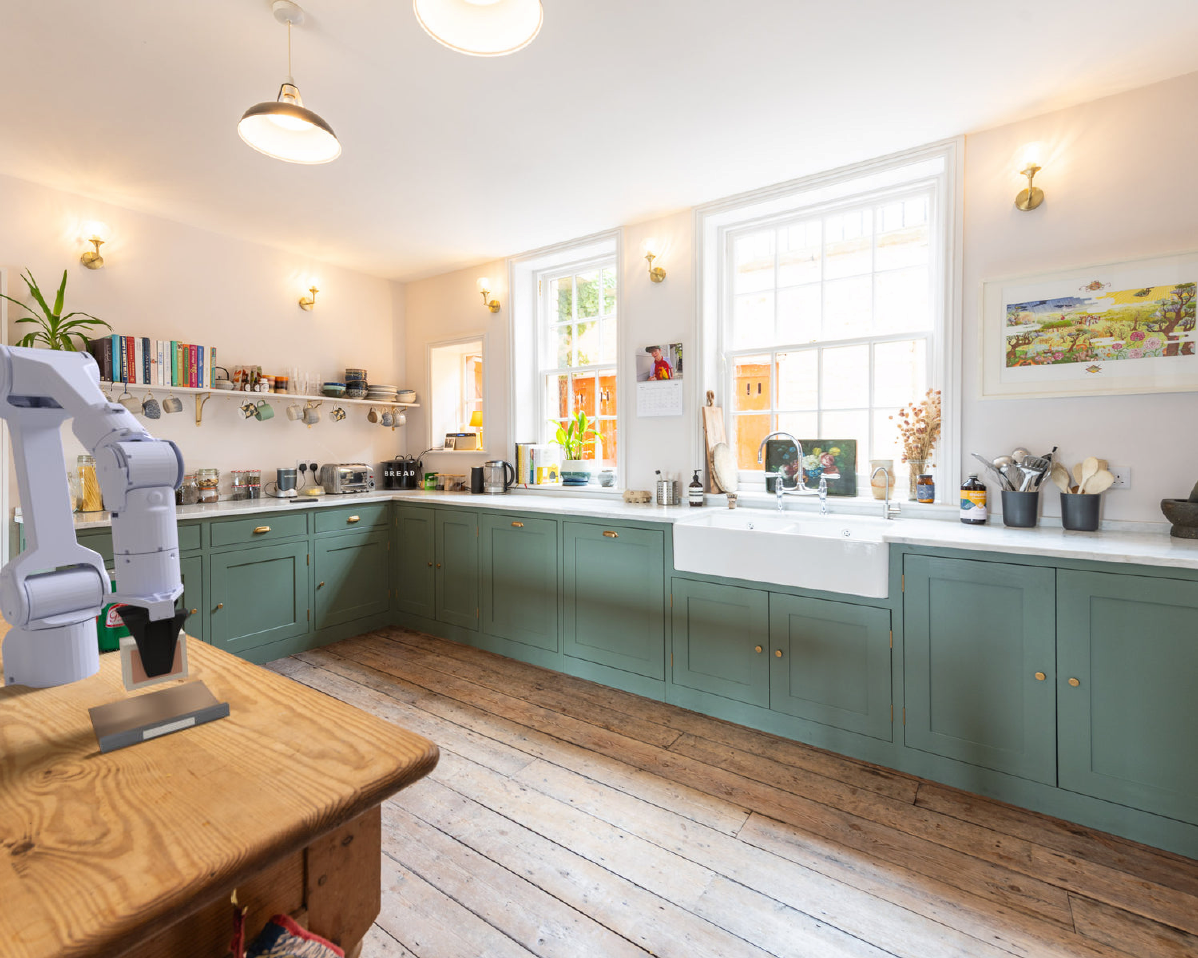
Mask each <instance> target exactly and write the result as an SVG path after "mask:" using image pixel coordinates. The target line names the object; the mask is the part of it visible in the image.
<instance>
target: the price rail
mask: <svg viewBox="0 0 1198 958" xmlns="http://www.w3.org/2000/svg"><path fill="white" fill-rule="evenodd" d="M220 703H221V704H218V705H214V706H211V707H207V708H204V709H200V710H197V711H193V712H190V713H186V714H182V715H179V716H175V717H172V718H168V719H165V720H161V721H158V722H154V723H151V724H147V725H144V726H140V727H137V728H133V729H130V730H126V731H123V732H119V733H116V734H112V735H109V736H105V737H102V738H100V746H101V749H100V751H101V754H102V753H103V754H106V753H109V752H108V751H110V752H112V751H111V750H113V751H116V750H118V748H120V749H122V748H121V747H123V748H126V747H129V746H128V745H130V746H132V745H131V744H133V745H136V744H139V743H138V742H140V743H142V742H141V741H143V742H146V741H149V740H148V739H150V740H152V739H151V738H153V739H156V738H159V737H158V736H160V737H162V736H161V735H163V736H165V734H166V735H169V734H168V733H170V734H173V733H175V731H176V732H179V731H178V730H180V731H183V730H186V729H189V728H188V727H190V728H193V727H196V726H199V725H198V724H200V725H203V724H206V723H209V722H208V721H210V722H213V721H216V720H219V719H218V718H220V719H223V718H226V717H229V716H228V715H230V716H231V713H230V712H231V711H230V709H231V708H230V703H229V702H228V701H225V702H220ZM225 716H226V717H225ZM222 717H223V718H222ZM215 719H216V720H215ZM212 720H213V721H212ZM205 722H206V723H205ZM202 723H203V724H202ZM195 725H196V726H195ZM192 726H193V727H192ZM185 728H186V729H185ZM182 729H183V730H182ZM172 732H173V733H172ZM155 737H156V738H155ZM145 740H146V741H145ZM135 743H136V744H135ZM100 746H99V747H100ZM125 746H126V747H125ZM115 749H116V750H115ZM105 752H106V753H105Z"/></svg>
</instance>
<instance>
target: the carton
mask: <svg viewBox="0 0 1198 958" xmlns="http://www.w3.org/2000/svg"><path fill="white" fill-rule="evenodd" d="M186 636H187V635H186V632H185V631H184V630H183V628H181V630H180V633H179V636H178V639H177V644H176V649H175V656H174V662H173V666H172V670H171V673H168V674H164V675H160V676H156V677H152V678H148V677H147V675H146V673H145V671H144V668H143V665H142V661H141V658H140V654H139V650H138V647H137V644H136V642H135V639H134V637H133V636H129V637H124V638H119V642H120V650H119V652H120V666H121V678H122V680H121V681H122V684H123V686H124V689H125V690H126V692H131V691H135V690H139V689H143V688H147V687H151V686H155V685H159V684H163V683H167V682H171V681H175V680H179V679H182V678H183V679H184V678H187V677H189V667H188V666H189V664H188V662H189V661H188V650H187V637H186Z"/></svg>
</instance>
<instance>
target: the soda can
mask: <svg viewBox="0 0 1198 958" xmlns="http://www.w3.org/2000/svg"><path fill="white" fill-rule="evenodd" d="M105 570H106V572H107V574H108V576H109V578H110V582H111V593H115V592H117V590H116V577H115V568H114V569H113V568H112V569H108V570H107V569H105ZM126 605H128V604H123V603H118V602H114V603H107V605H106V606H105V607H104V608H103V609H101V615H98V616H96V628H97V641H98V652H102V651H107V652H113V651H112V650H115V651H117V650H116V649H120V642H119V638H124V637H129V636H130V633H129V631H128V628H127V627H126V626H125V624H124V623H123V622H122V618H121V617H120V616H119V615H118V613H117V612H116V611H115V609H116V608H118V607H121V606H126Z"/></svg>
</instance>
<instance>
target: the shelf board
mask: <svg viewBox="0 0 1198 958" xmlns="http://www.w3.org/2000/svg"><path fill="white" fill-rule="evenodd" d="M221 703H222V702H220V700H218V698H217V697H216V696H215V694H214V693H213V692H212V691H211V689H209V687H207V685H206V684H205V682H204V681H203V680H202V679H200V680H199V679H198V680H196V681H192V682H191V681H190V682H187V683H183V684H179V685H176V686H171V687H167V688H163V689H160V690H157V691H152V692H149V693H144V694H140V695H137V696H134V697H133V696H132V697H130V698H129V697H128V698H126V699H125V698H124V699H122V700H117V701H114V702H113V701H112V702H108V703H106V704H102V705H98V706H94V707H90V708H88V711H89V715H90V718H91V721H92V724H93V729H94V733H95V734H96V739H97V742H98V745H99V749H100V750H101V746H100V738H102V737H105V736H109V735H112V734H116V733H119V732H123V731H126V730H130V729H133V728H137V727H140V726H144V725H147V724H151V723H154V722H158V721H161V720H165V719H168V718H172V717H175V716H179V715H182V714H186V713H190V712H193V711H197V710H200V709H204V708H207V707H211V706H214V705H218V704H221ZM229 716H231V714H230V715H228V716H225V717H222V718H218V719H215V720H212V721H208V722H205V723H202V724H198V725H195V726H192V727H188V728H185V729H182V730H178V731H175V732H179V731H183V730H186V729H189V728H193V727H196V726H200V725H203V724H206V723H209V722H213V721H216V720H219V719H223V718H226V717H229ZM175 732H172V733H168V734H165V735H169V734H173V733H175ZM165 735H161V736H158V737H155V738H151V739H148V740H145V741H141V742H138V743H135V744H131V745H128V746H125V747H121V748H118V749H119V750H120V749H123V748H126V747H129V746H132V745H136V744H139V743H144V742H146V741H151V740H152V739H156V738H159V737H163V736H165ZM118 749H115V750H111V751H108V752H105V753H102V752H101V754H106V753H109V752H113V751H116V750H118Z"/></svg>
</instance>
